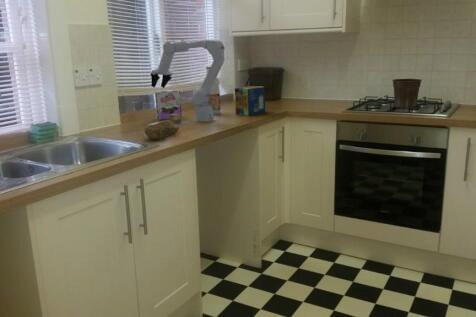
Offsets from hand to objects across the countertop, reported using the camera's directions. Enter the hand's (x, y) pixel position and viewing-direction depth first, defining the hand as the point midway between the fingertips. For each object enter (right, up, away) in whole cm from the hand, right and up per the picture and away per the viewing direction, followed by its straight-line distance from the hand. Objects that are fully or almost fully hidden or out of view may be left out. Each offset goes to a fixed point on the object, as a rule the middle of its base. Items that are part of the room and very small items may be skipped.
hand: (157, 87), depth 247 cm
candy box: (+5, -17, +11) cm, 21 cm away
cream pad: (+1, -21, -9) cm, 23 cm away
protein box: (+52, -13, +20) cm, 57 cm away
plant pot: (+143, -10, +17) cm, 144 cm away
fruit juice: (+29, -12, +25) cm, 40 cm away
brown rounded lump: (+9, -30, -41) cm, 51 cm away
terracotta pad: (+5, -19, -3) cm, 20 cm away
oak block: (+11, -20, -7) cm, 24 cm away
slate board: (+7, -22, -9) cm, 24 cm away
